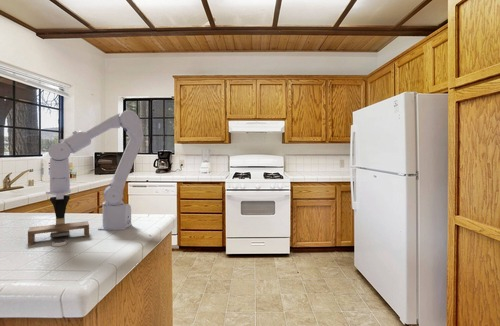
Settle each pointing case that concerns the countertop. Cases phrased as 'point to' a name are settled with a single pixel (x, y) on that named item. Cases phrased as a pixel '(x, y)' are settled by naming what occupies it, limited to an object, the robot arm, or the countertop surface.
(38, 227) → the brown wooden bridge
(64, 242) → the silver flat dome
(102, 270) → the countertop surface
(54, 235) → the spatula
